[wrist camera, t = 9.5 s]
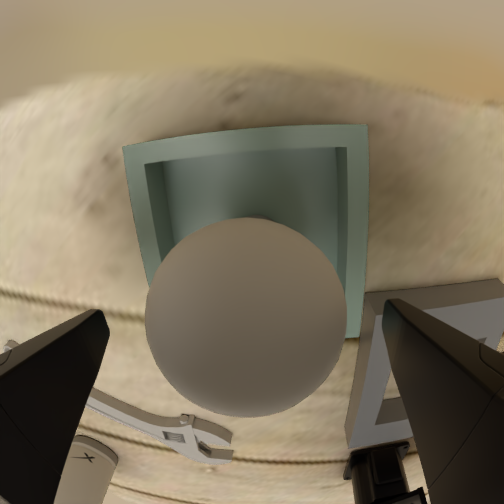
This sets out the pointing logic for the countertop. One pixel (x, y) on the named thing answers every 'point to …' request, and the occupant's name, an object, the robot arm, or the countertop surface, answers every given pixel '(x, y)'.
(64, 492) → the travel mug
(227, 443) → the adjustable wrench
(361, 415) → the socket board
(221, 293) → the lightbulb
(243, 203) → the parts tray
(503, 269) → the countertop surface
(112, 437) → the countertop surface
